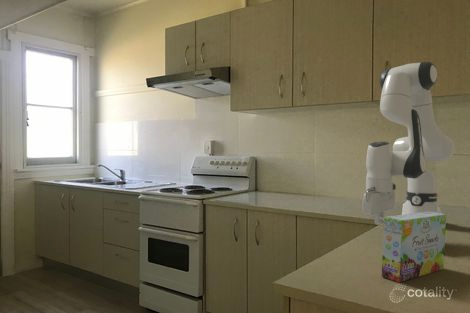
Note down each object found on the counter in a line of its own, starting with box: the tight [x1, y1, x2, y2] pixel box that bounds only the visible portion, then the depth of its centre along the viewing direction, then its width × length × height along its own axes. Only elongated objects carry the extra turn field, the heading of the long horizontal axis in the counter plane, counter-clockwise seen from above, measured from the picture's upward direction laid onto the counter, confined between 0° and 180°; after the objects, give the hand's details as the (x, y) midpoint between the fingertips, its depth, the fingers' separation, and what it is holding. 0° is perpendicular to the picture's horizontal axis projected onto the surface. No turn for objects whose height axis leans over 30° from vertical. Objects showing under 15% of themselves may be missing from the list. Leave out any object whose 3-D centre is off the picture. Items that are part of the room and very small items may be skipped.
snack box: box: [381, 212, 447, 283], centre depth 97 cm, size 21×6×15 cm, turn 126°
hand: (378, 224), depth 139 cm, fingers closed
